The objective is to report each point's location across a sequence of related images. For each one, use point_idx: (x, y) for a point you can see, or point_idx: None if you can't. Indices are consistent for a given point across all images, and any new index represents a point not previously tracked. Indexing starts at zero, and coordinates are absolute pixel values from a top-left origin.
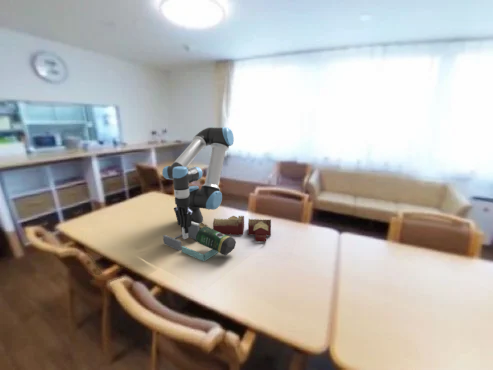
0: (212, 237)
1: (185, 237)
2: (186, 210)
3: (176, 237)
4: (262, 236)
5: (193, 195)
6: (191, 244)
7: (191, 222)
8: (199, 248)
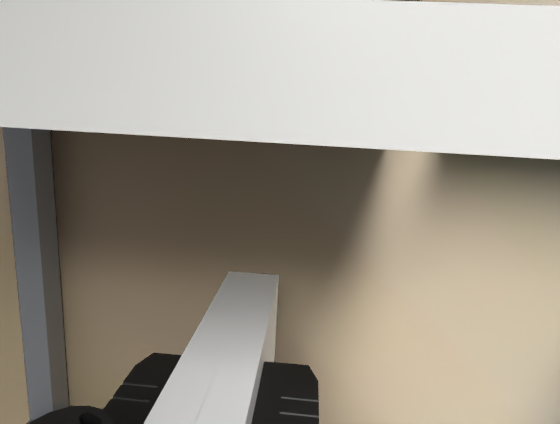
0: None
1: (273, 353)
2: None
3: (38, 262)
4: None
5: None
6: (364, 270)
7: (75, 104)
8: (555, 304)
